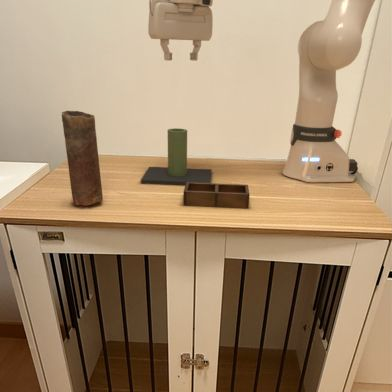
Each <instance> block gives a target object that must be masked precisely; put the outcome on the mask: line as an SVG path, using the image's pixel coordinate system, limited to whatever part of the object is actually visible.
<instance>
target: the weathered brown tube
mask: <svg viewBox="0 0 392 392" xmlns="http://www.w3.org/2000/svg"><path fill="white" fill-rule="evenodd" d="M95 118H96V117H95V115H94V114H90V113H87V112H84V111H79V110H66V111H62V112H61V122H62V128H63V136H64V145H65V151H66V159H67V165H68V166H67V168H68V176H69V183H70V190H71V191H70V192H71V198H72V204H73V205H74V206H85V207H87V206H92V205H97V204H100V203H101V202H103V199H104V197H103V186H102V178H101V169H100V168H101V167H100V157H99V150H98V140H97V139H98V138H97V129H96V119H95Z"/></svg>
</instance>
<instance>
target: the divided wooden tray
mask: <svg viewBox="0 0 392 392" xmlns="http://www.w3.org/2000/svg"><path fill="white" fill-rule="evenodd" d="M249 204H250V189H249V184H240V183H239V184H238V183H236V184H235V183H219V182H218V183H217V182H215V183H214V182H210V183H195V182H186V185H184V189H183V206H186V207H187V206H188V207H206V208H207V207H208V208H210V207H211V208H229V209H230V208H232V209H249V206H250V205H249Z"/></svg>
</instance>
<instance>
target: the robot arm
mask: <svg viewBox="0 0 392 392" xmlns="http://www.w3.org/2000/svg"><path fill="white" fill-rule="evenodd" d="M213 2H214V0H149V1H148V5H149V7H148V9H149V12H148V24H147V25H148V26H147V27H148V29H147V30H148V31H147V32H148V33H147V34H148V36H149V38H150V39H152V40H159V45H160V47H161V49H162V52H163V60H164V61H172V60H173V52H171V51H170V48H169V45H170V40H172V41H173V40H174V41H175V40H176V41H178V40H179V41H192V46H193V48H192V51H191V52H189V60H190V61H194V62H195V61H198V56H199V52H200V50H201V47H202V42H209V41H210V40H211V39H212V36H213V26H214V25H213V23H214V22H213V20H214V19H213V10H212V8H211V7H212V6H213ZM375 2H376V0H331V3H330V6H329V9H328V11H327V13H326V15H325V17H324V19H323V20H317V21H315V22H313V23H311V24H310V25H309V26H308V27H307V28H306V29H305V30H304V31H303V32H302V33H301V35H300V37H299V39H298V43H297V54H298V58H299V59H298V60H299V64H298V65H299V66H298V86H299V87H298V98H297V107H296V113H295V114H296V115H295V120H294V123H293V125H292V128H291V134H290V139H289V140H290V141H289V142H290V146H289V151H288V155H287V158H286V161H285V163H284V166H283V170H282V171H281V173H282V175H284V176H286V177H288V178H291V179H295V180H300V181H303V182H305V183H352V182H354V181H355V177H356V176H355V174H356V173H357V172H358V170H359V167H358V162H357V161H356V160H355V159H354V158H350V156H349V155H348V154H347V152H346V150H344V149H343V147H342V146H341V145H340V144H339V143H338V142H337V141H336V140H337V139H339V138H341V137H342V134H343V132H342V131H341V130H340V129H336V128H335V127H334V126H333V123H334V119H335V113H336V108H337V103H338V97H339V94H338V90H337V89H338V88H337V71H339V70H341V69H344V68H346V67H348V66H350V65H351V64H352V63H353V62H354V61H355V60H356V59H357V57H358V55H359V53H360V51H361V48H362V43H363V38H362V35H363V32H364V29H365V27H366V24H367V21H368V19H369V16H370V13H371V11H372V8H373V6H374V4H375Z"/></svg>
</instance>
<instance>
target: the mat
mask: <svg viewBox="0 0 392 392" xmlns="http://www.w3.org/2000/svg"><path fill="white" fill-rule="evenodd" d="M211 180H212V169H211V168H192V167H191V168H189V167H187V175H186V176H182V177H174V176H170V175H168V166H167V167H164V166H148V168H147V169H146V171H145V173H144V174H143V176H142V178H141V179H140V184H141V185H164V186H165V185H167V186H185V185H186V182H195V183H211Z"/></svg>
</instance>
